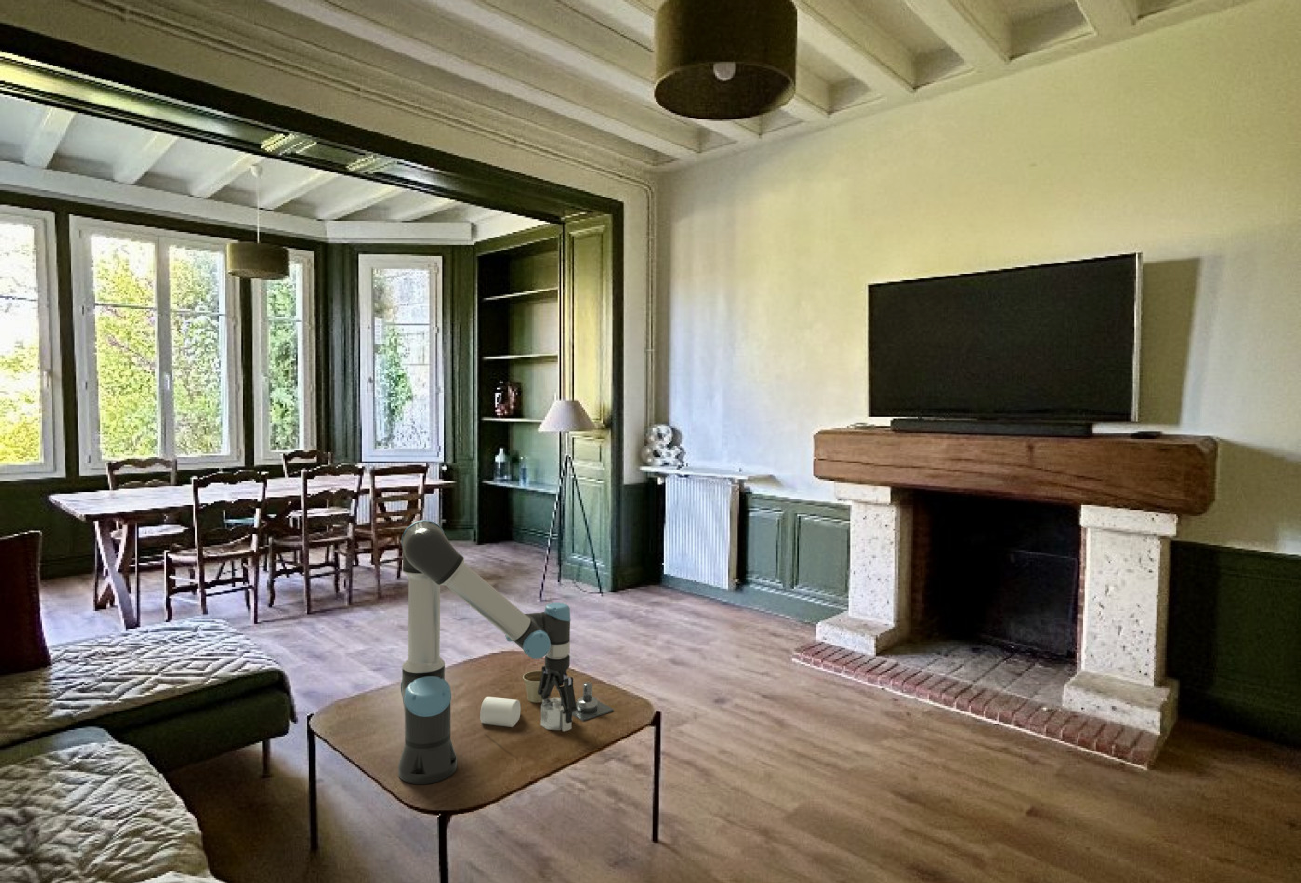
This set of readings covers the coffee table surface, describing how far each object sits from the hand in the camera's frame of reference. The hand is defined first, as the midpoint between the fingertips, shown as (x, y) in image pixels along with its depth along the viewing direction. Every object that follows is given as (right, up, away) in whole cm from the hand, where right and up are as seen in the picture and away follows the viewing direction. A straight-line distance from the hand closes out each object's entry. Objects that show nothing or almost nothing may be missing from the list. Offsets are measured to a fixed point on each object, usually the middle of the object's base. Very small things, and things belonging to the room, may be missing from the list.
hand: (556, 725), depth 221 cm
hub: (+8, 0, +10) cm, 13 cm away
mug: (-17, 0, +3) cm, 17 cm away
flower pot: (-9, +1, +18) cm, 20 cm away
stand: (0, 0, 0) cm, 0 cm away
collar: (0, +1, 0) cm, 1 cm away
